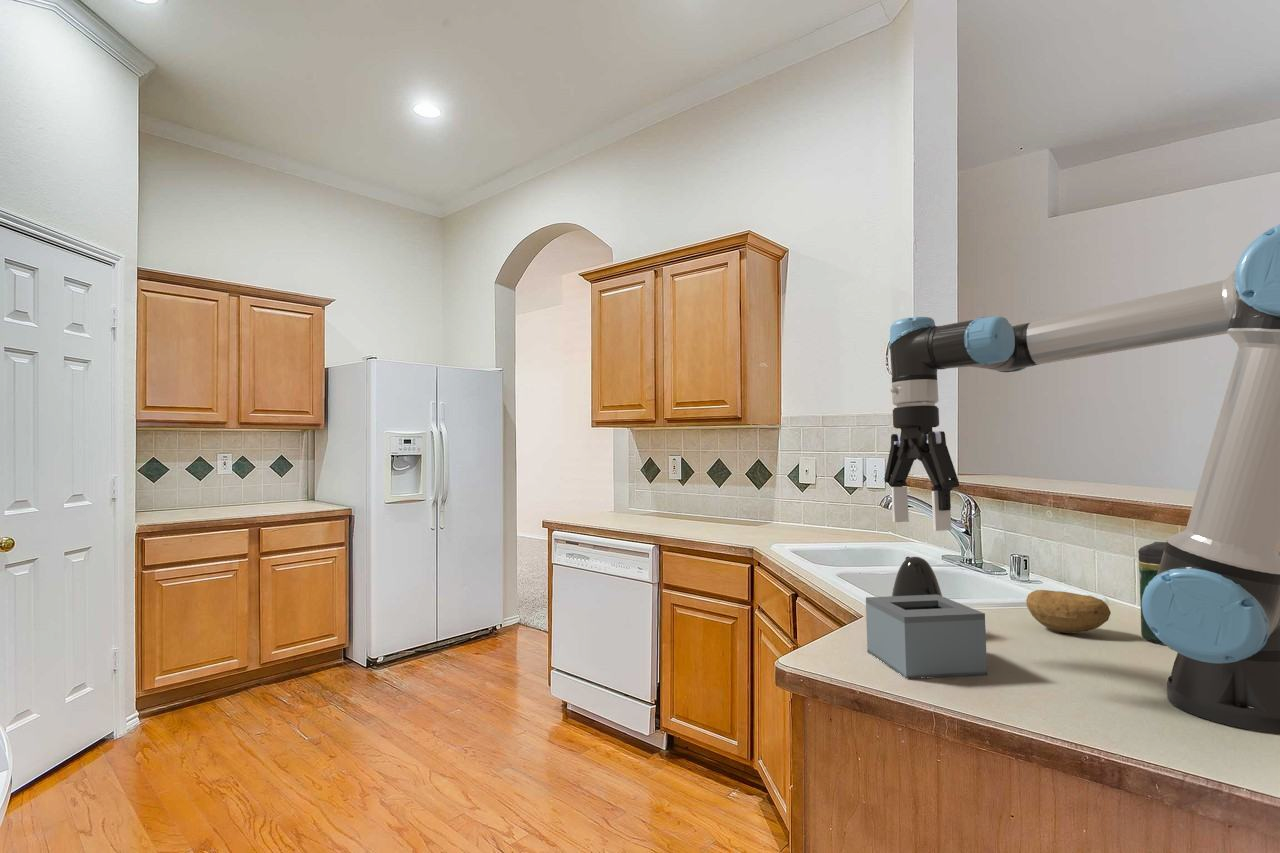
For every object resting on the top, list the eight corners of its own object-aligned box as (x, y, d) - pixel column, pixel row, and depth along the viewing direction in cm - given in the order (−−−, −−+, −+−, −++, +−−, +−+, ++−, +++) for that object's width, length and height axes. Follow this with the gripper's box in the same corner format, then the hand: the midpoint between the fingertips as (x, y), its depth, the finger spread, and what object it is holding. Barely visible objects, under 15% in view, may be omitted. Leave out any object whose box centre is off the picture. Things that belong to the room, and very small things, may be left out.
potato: (1113, 643, 119) (1111, 601, 119) (1026, 632, 127) (1024, 592, 127) (1110, 630, 127) (1108, 590, 127) (1028, 621, 135) (1026, 583, 135)
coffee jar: (1193, 650, 114) (1188, 547, 115) (1138, 641, 120) (1133, 543, 120) (1198, 639, 121) (1193, 541, 122) (1146, 631, 126) (1141, 538, 127)
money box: (987, 674, 104) (984, 613, 104) (906, 679, 103) (904, 617, 103) (939, 648, 118) (937, 594, 118) (867, 651, 117) (865, 597, 117)
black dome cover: (934, 624, 134) (932, 552, 134) (954, 639, 123) (951, 561, 124) (885, 624, 135) (882, 552, 135) (900, 638, 124) (897, 561, 125)
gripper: (863, 411, 124) (867, 519, 123) (934, 399, 99) (940, 535, 98) (899, 410, 125) (904, 518, 124) (979, 399, 100) (985, 533, 99)
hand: (920, 526), depth 111 cm, fingers open, 13 cm apart
